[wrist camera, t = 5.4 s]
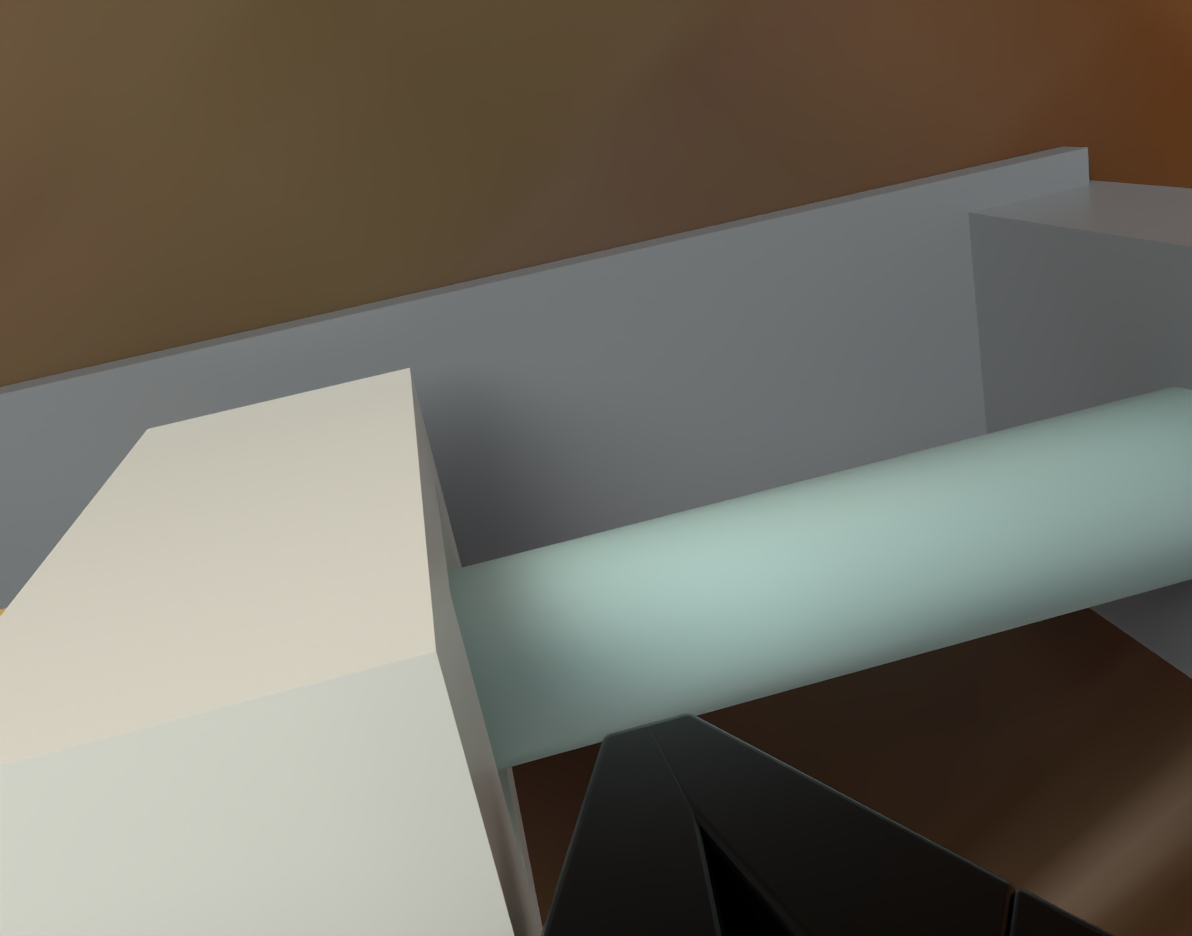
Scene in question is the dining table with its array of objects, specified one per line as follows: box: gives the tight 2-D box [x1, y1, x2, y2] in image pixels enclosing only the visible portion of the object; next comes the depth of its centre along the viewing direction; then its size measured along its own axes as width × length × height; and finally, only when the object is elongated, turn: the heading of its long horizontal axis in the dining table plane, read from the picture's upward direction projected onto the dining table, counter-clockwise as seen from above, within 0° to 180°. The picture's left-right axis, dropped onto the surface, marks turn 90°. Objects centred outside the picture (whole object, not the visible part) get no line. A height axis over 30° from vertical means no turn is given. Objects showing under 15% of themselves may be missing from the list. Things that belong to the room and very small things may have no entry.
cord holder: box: [0, 147, 1192, 771], centre depth 13 cm, size 19×6×7 cm, turn 101°
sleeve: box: [0, 368, 543, 936], centre depth 10 cm, size 3×5×7 cm, turn 12°
